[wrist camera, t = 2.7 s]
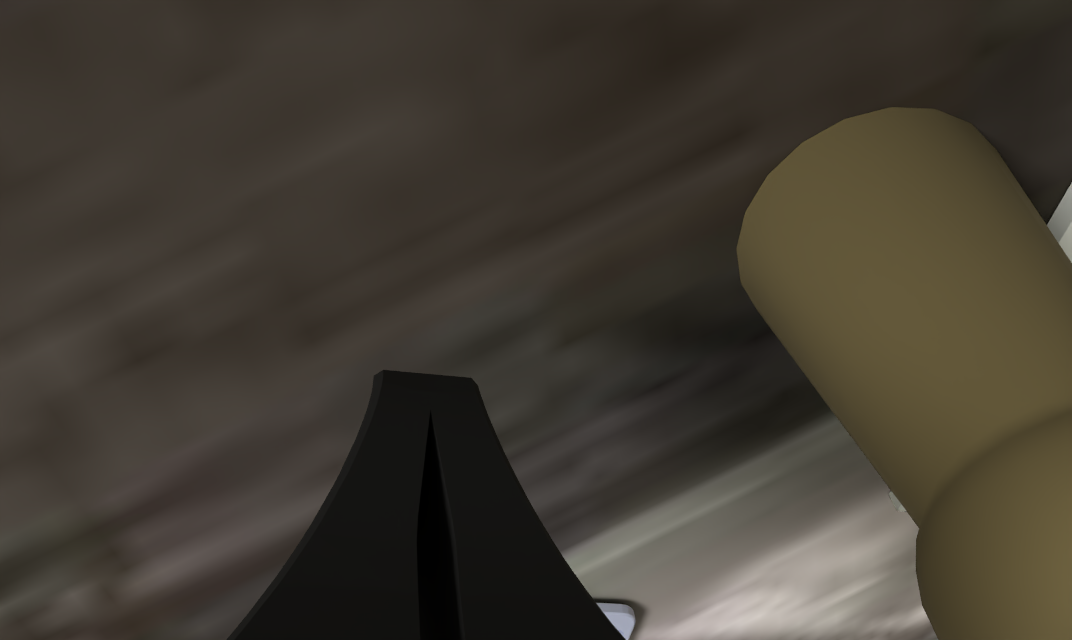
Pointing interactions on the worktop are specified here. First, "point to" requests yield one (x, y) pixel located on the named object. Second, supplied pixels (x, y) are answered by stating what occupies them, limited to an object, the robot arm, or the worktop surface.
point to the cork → (934, 351)
